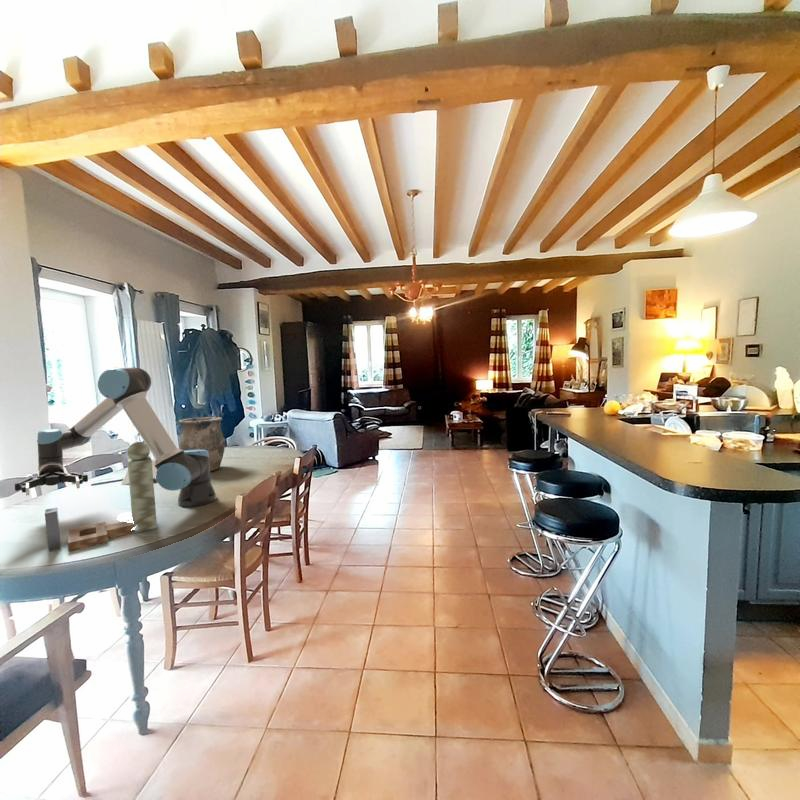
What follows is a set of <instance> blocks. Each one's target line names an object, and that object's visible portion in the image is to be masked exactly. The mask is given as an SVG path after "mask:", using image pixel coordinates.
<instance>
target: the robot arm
mask: <svg viewBox="0 0 800 800" xmlns="http://www.w3.org/2000/svg"><path fill="white" fill-rule="evenodd" d="M151 386H152V378H151V376H150V373H148V372H147V371H146V370H145V369H143V368H140V367H135V366H132V367H114V368H113V367H112V368H109V369H106V370H105V371H102V373H101V374H100V375H99V377H98V380H97V388H98V390H99V393H100V394H101V396H103V397H105V398H104V399H103V400H102V401H101V402H100V403H99V404H97V405H96V406H95V407H94V408H93V409H92V410H91V411H89V412H88V413H87V414H86V415H84V416H83V417H82V418H81V419H80V420H79V421H78V422H76V424H75V425H73V426H72V427H70V428H69V429H68V430H65V431H62V430H61V429H60V428H59V429H58V428H47V429H41V430H39V431H38V432H37V440H36V442H37V454H38V455H37V456H38V458H37V459H38V469H37V470H38V476H37V477H34V476H32V475H30V476H29V475H28V476H27V477H25V478H24V479H22V480H20V481H18V482H15V483H14V490H15V492H19V491H20V490H21V493H25V495H26V497H27V496H30V489H32V488H35V487H39V486H41V487H42V486H48V487H49V486H56V485H58V484H60V483H61V484H62V483H63V484H64V483H73V484H75V486H76V489H80V487H81V486H80V485H82V484H84V483H88V481H89V476H88V474H85V473H81V472H77V471H75V470H72V471H71V472H70V473H66V472H65V470H64V458H63V456H64V453H63V451H65V450H68V449H73V448H75V447H80V446H84V445H85V444H88V443H89V442H90V441H91V438H92V436H93V435H94V434H95V433H96V432H97V431H99V430H100V429H101V428H102V427H104V426H105V425H106V424H107V423H108V422H109V421H111V420H112V419H113V418H115V416H116V415H118V414H119V413H120V412H122V410H124V412H125V414H126V415H127V416H128V418H129V420H130V421H131V423H132V424H133V427H135V429H136V430H137V432H138V434H139V436H140V437H141V438H142V440H143V443H145V444H147V445H148V447H149V449H150V454H152V456H153V458H154V459H155V460H156V461H155V460H154V461H155V464H154V466H155V467H156V469H157V472H156V476H155V480H156V482H157V484H158V485H159V486H160V487H161V488H163V489H164V490H167V491H173V492H174V491H178V490H179V494H178V496H177V497H178V498H177V504H178V506H180V507H186V508H187V507H190V508H193V507H197V506H198V507H199V506H204V505H207V504H210V503H213V502H214V501H216V499H217V494H216V493H217V492H216V491H215V489H214V487H213V484H212V481H211V472H210V463H209V458H210V457H209V453H208V451H207V450H185V451H183V450H181V449H179V448H177V446H176V445H175V443H174V441H173V440H172V437H171V436H170V435H169V433H168V431H167V430H166V429H165V427H164V425H163V424H162V422H161V421H160V419H159V417H158V415H157V414H156V412H155V411H154V409H153V408H152V406H151V404H150V403H149V401H148V400H147V395H148V391H149V390H150V389H151Z"/></svg>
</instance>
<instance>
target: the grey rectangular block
mask: <svg viewBox="0 0 800 800" xmlns="http://www.w3.org/2000/svg"><path fill="white" fill-rule="evenodd" d="M44 511H45V512H44V520H45V527H46V537H47V538H46V540H47V546H48V547H47V549H48V552H53V551H58V550H61V547H62V542H61V541H62V539H61V538H62V537H61V530H60V529H61V528H60V520H59V519H60V518H59V512H58V507H51V508H46V509H45V510H44Z"/></svg>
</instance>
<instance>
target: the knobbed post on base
mask: <svg viewBox="0 0 800 800" xmlns="http://www.w3.org/2000/svg"><path fill="white" fill-rule="evenodd" d="M126 452H127V453H126V454H127V456H128V457H129V458H127V459H126V462H127V471H128V474H129V484H128V485H129V496H130V507H131V518H132V517H133V521H134V524H133V523H127V522H124V521H120V522H115V523H110V524H106V522H99V523H93V524H90V525H85V526H80V527H76V528H70V529H68V535H67V549H68V552H69V553H71V552H73V551H79V550H81V549H83V550H84V549H87V548H90V547H95V546H98V545H104V544H108V543H109V539H113V538H116V537H117V538H118V537H120V536H121V537H122V536H125V535H126V536H127V535H130V534H136V533H141V532H145V531H149V530H154V529H157V528H158V523H157V511H156V510H157V509H156V499H155V486H154V485H155V484H154V479H153V471H152V461H153V460H152V458H151V456H149V455H150V454H151V451H150V449H149V447H148V445H147V444H146V443H145V442H144V441H143V442H141V441H137V442H134V443H132V444H130V445H129V447H128V448H127V451H126ZM136 525H138V528H139V529H138V530H132V531H131V529H132V528H133V527H135V526H136Z"/></svg>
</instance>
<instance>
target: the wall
mask: <svg viewBox="0 0 800 800" xmlns="http://www.w3.org/2000/svg"><path fill="white" fill-rule="evenodd" d="M155 461H156V460H152V471H153V480H154V479H156V472H157V469H156V467H155V466H154V464H155ZM126 485H129V474H128V470H127V471H126V473H125V476H124V478H123V480H122V482H121V485H120V486H126Z"/></svg>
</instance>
